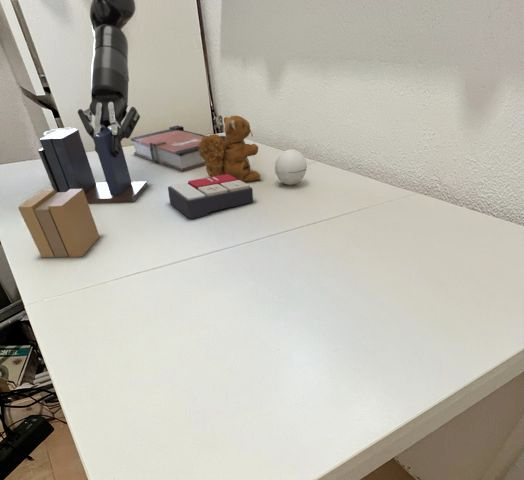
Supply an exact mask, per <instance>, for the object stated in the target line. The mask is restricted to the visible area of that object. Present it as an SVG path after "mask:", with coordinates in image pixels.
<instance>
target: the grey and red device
mask: <svg viewBox="0 0 524 480" xmlns="http://www.w3.org/2000/svg"><path fill="white" fill-rule="evenodd" d="M253 190H254V189H253V187H251V186H250V184H248V183H247V182H242V181H240V180H238V179H237V178H235V177H233V176H231V175H229V174H225V175H219V176H214V177H210V176H209V177H203V178H202V177H201V178H197V179H192V180H188V182H180V183H175V184H170V185H169V186H167V191H168V197H169V198H168V199H169V203H170V204H171V205H172V206H173V207H174V208H175V209H176V210H178V211H179V212H180V213H181V214H183V215H184V216H185V217H187V219H190V220H192V219H197V218H201V217H206V216H208V215H209V213H210V212H215V211H219V210H223V209H229V208H233V207H237V206H243V205H247V204H251V203H253V201H254V195H253V194H254V193H253V192H254V191H253Z"/></svg>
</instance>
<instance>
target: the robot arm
mask: <svg viewBox="0 0 524 480" xmlns="http://www.w3.org/2000/svg"><path fill="white" fill-rule="evenodd" d="M135 13H136V2H135V0H91V3H90V7H89V19H90V24H91V30H92V33H93V37H94V39H93V55H92V61H91V78H90V79H91V80H90V81H91V83H90V94H91V95H90V96H91V101H90V103H89V105H88V108H87V109H85V110H83V109H82V108H79V109H78V110H77V115H78V117H79V119H80V121H81V123H82V125H83V128H84V129H85V131H86V133H87V134H88V136H89V137H91V139H92V140H93V136H95V135H96V134H98V133H99V132H101V131H102V130H104V129H106V128H109V127H110V128H111V129H112V134H113V136H111V154H112V155H113V156H114V157H118V154H120V151H121V150H120V149H121V145H122V141H123V139H130V138H131V136H132V134H133V132H134V130H135V128H136V126H137V124H138V122H139V121H140V119H141V115H140V113H139V112H138V110H137V109H136V107H135V106H131V107H130V106H129V105H128V104H129V82H130V77H129V76H130V75H129V42H128V38H127V36H126V34H125V32H124V31H123V28H124V27H125V26H126V25H127V23H128V22H129V21H130V20H132V18H133V17H134V16H135ZM93 116H94V126H93V124H92V123H93V118H92V117H93ZM94 151H95V153H96V154H97V155H98V153H97V150H96V147H95V146H94Z"/></svg>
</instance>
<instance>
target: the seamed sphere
mask: <svg viewBox="0 0 524 480" xmlns="http://www.w3.org/2000/svg"><path fill="white" fill-rule="evenodd" d="M314 163H315V161H312V162H308V163H307V159H306V158H305V156H304V155H303V154H302V152H300V151H298V150H297V149H293V148H292V149H286V150H284V151H282V152H281V153H280V154H279V155H278V156H277V158H276V160H275V164H274V173H275V175H276V177H277V179H278V180H279V181H280V182H281V183H282V184H285V185H289V186H293V185H296V184H298V183H300V182H301V181H302V180H303V179H304V177H305V176H306V173H307V168H308V167H307V165H309V164H314Z"/></svg>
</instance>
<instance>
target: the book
mask: <svg viewBox="0 0 524 480" xmlns="http://www.w3.org/2000/svg"><path fill="white" fill-rule="evenodd" d="M204 136H205V135H204V134H201V133H197V132H193V131H189V130H184V126H182V125H174V126H170V127H168V129H164V130H160V131H155V132H151V133H147V134H143V135H138V136H133V137H129V139H130V142H133V147H134V152H133V155H134V156H135V157H139V158H142V159H145V160H148V161H151V162H153V163H154V164H159V165H162V166H165V167H168V168H171V169H174V170H177V171H180V172H182V173H183V172H186V171H189V170H192V169H196V168H199V167H202V166H206V165H205V163H204V161H205V160H204V159H203V158H202V157H201V156H200V154H199V152H198V151H199V149H200V146H199V145H198V144H197V143H199V142H200V141H201V138H202V137H204ZM219 136H220V137H221V138H222V139H223V140H224V141H225V137H226V135H219Z"/></svg>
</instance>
